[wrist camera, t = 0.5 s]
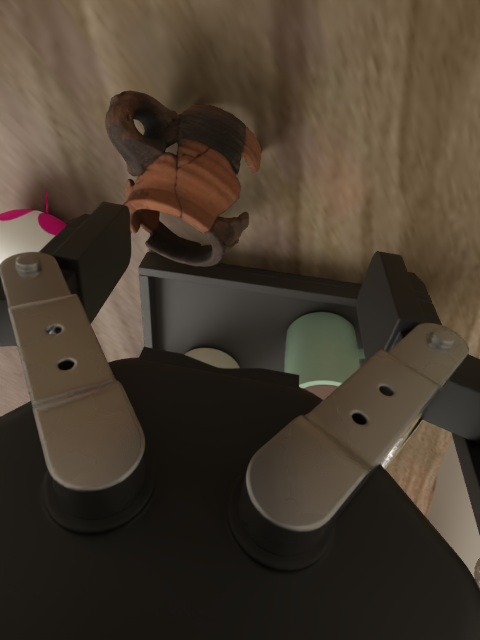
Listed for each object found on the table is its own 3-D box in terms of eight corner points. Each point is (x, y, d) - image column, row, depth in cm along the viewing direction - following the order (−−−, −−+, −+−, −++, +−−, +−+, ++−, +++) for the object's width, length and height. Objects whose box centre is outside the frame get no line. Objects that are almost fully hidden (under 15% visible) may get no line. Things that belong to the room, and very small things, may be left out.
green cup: (292, 366, 40) (289, 436, 34) (279, 316, 36) (274, 384, 30) (388, 357, 38) (404, 430, 32) (386, 303, 34) (404, 374, 28)
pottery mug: (296, 173, 30) (262, 268, 27) (210, 200, 36) (175, 279, 33) (179, 18, 22) (113, 128, 19) (96, 88, 29) (39, 178, 26)
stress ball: (107, 208, 37) (84, 195, 30) (87, 295, 37) (61, 300, 31) (20, 184, 36) (-22, 165, 29) (2, 273, 36) (-44, 274, 30)
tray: (146, 252, 35) (138, 266, 33) (398, 289, 34) (403, 306, 33) (154, 386, 46) (148, 402, 45) (343, 416, 46) (345, 433, 44)
